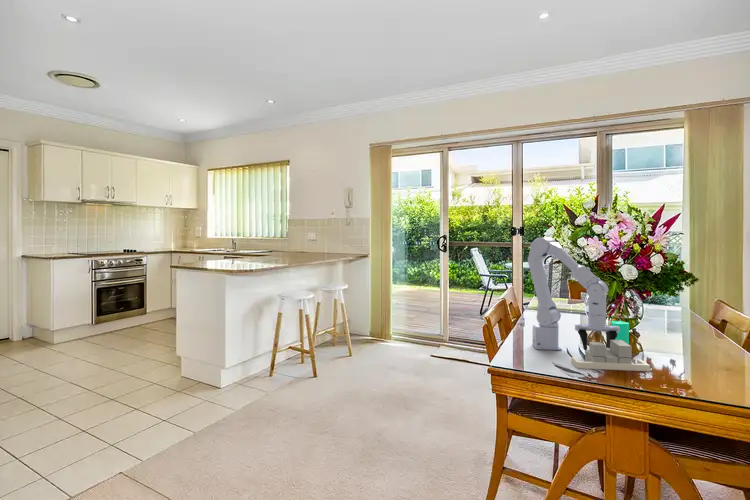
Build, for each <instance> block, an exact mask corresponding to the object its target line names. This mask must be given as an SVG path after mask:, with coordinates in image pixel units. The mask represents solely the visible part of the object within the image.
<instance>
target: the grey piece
mask: <svg viewBox="0 0 750 500" xmlns="http://www.w3.org/2000/svg"><path fill="white" fill-rule="evenodd" d="M570 362H571V364H572V365H573V366H574V367H575V368H577V369H589V370H593V369H594V370H608V371H609V370H610V371H611V370H612V371H632V372H633V371H635V372H636V371H639V372H651V365H650V364H649V363H647V362H646V361H644V360H643V359H641V358H637V359H636V363H608V362H586V361H585V360H584V361H582V360H581V361H580V360H579V359H578V358H577V357H576V356H571V360H570Z"/></svg>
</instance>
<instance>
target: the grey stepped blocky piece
mask: <svg viewBox="0 0 750 500" xmlns="http://www.w3.org/2000/svg"><path fill="white" fill-rule="evenodd" d="M588 343H589V344H588V345H589V346H588V348H589V349H587V350H584V352H585V353H584V362H608V363H632V362H633V361H632V360H633V359H632V355H633V353H632V352H633V351H632V350H633V349H632V348H633V347H632V345H631V344H630V343H629V344H627V343H626V342H624V341H622V340H610V348H606V344H604V343H603V342H600V341H599V342H598V341H597V342H596V341H589V342H588Z"/></svg>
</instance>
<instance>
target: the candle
mask: <svg viewBox="0 0 750 500" xmlns="http://www.w3.org/2000/svg"><path fill="white" fill-rule="evenodd" d="M610 326H618V327H620V333H618V332H616V333H617V337H616V338H615V340H622V341H624V342H626V343H627V344H629V345H630V323H629V322H625V321H622V320H611V325H610Z"/></svg>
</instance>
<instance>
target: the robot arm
mask: <svg viewBox="0 0 750 500" xmlns="http://www.w3.org/2000/svg"><path fill="white" fill-rule="evenodd" d="M529 248H530V250H529V253H528V257H527V263H528V264H527V265H528V267H529V272H530V275H531V279H532V283H533V287H534V291H535V296H536V299H537V306H536V312H537V313H536V320H537V322H538V324H533V326H532V342H531V344H532V346H533V347H534V348H535V349H536V350H550V351H552V350H553V351H562V347H560V346H559V323H558V322H559V321H560V320H561V317H562V314H561V312H560V310H559V309H558V306H557V304H556V303H555V301H553V297H552V295H551V290H550V287H549V283H548V279H547V275H546V271H545V268H544V264H543V262H544V260H545V259H546V257H548V256H553V257H556V258H557V259H558V260H559V261H561V262H562V264H563V265H565V267H567V268H569V270H570V271H571V272H572V273H571V275H572V277H573V278H574V279H575V280H576V282H578V283H579V284H580V285H581V286H582V287H583V288H584V289H586V290H585V291H586V294H587V296H588V317H587V322H588V323H584V324H581V323H579V324H578V323H577V324H574V330H575V331H577V332H578V335H579V337H580V340H581V343H582V349H583V350H584V351H585V350H588V336H589V333H587V331H588V332H589V331H591V332H605V339H606V342H605V343H606V344H605V348H610V340H615V338H616V337H617V333H616V332H618V333H620V327H618V326H611V325H608V324H607V294H608V292H609V286H608V284H607V283H606V282H605V281H604V280H601V278H600V277H597V276H596V275H595V274H594V273H593V272H592V271H591V268H590V267H589V266H587V267H586V266H585V265H580V264H579V263H577V261H576V260H575V259H574V258H573V257H572V256H571V255H570V254H569V253H568V252H567V251H566V250H565V249H564V247H562V245H561V244H560V243H559V242H558V241H556V240H555V239H554V238H553V237H551V236H550V237H549V236H546V237H537V238H535V239H534V240H533V241H532V243H531V244H530V245H529Z"/></svg>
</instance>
